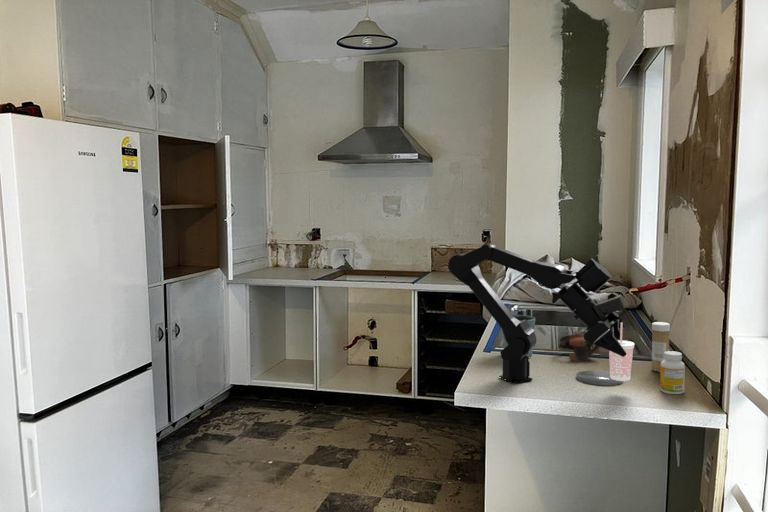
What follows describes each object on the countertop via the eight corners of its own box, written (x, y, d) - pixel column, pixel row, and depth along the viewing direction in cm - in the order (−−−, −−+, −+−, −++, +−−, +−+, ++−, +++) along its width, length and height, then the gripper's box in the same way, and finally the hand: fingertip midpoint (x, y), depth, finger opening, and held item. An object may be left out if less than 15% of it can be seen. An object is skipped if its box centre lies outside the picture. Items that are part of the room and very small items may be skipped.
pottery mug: (560, 362, 178) (554, 336, 182) (565, 369, 186) (559, 343, 190) (602, 355, 174) (595, 328, 178) (605, 362, 182) (598, 336, 186)
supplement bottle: (663, 386, 152) (664, 349, 152) (686, 390, 149) (687, 352, 148) (657, 392, 148) (658, 353, 147) (681, 396, 145) (682, 356, 144)
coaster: (599, 388, 152) (599, 386, 152) (566, 376, 163) (566, 374, 163) (634, 381, 157) (634, 379, 157) (600, 370, 168) (600, 368, 168)
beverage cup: (602, 378, 148) (604, 322, 147) (613, 373, 152) (614, 319, 151) (627, 383, 144) (629, 326, 142) (637, 378, 148) (639, 322, 147)
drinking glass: (499, 358, 182) (499, 319, 181) (503, 350, 192) (503, 313, 191) (534, 360, 179) (534, 321, 178) (536, 352, 189) (536, 314, 188)
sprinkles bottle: (672, 371, 166) (673, 323, 164) (662, 374, 163) (663, 325, 162) (657, 367, 169) (658, 320, 168) (647, 370, 167) (648, 322, 166)
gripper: (599, 288, 140) (649, 340, 135) (611, 279, 156) (656, 324, 152) (564, 319, 144) (611, 369, 140) (579, 306, 160) (622, 351, 156)
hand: (626, 352), depth 147 cm, fingers closed on beverage cup, 6 cm apart
